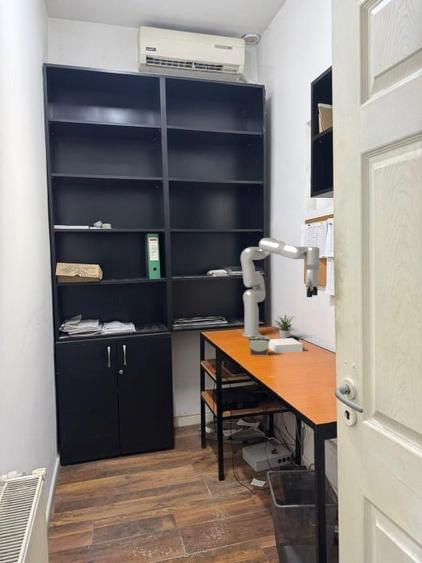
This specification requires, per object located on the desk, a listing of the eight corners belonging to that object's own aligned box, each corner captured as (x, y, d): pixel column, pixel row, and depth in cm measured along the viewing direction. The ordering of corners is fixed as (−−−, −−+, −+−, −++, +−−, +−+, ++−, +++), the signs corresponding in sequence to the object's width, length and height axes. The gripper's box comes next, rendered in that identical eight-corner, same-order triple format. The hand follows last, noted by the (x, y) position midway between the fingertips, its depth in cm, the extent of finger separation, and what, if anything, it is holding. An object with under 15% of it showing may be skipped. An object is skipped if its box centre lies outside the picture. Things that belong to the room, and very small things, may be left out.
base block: (267, 347, 230) (267, 339, 229) (292, 346, 233) (292, 338, 232) (276, 354, 216) (276, 345, 215) (302, 352, 219) (302, 343, 219)
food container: (269, 352, 217) (269, 335, 216) (270, 355, 211) (270, 337, 210) (247, 352, 218) (247, 335, 218) (247, 355, 212) (247, 337, 212)
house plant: (290, 335, 259) (290, 311, 257) (301, 340, 246) (301, 315, 244) (271, 337, 254) (271, 313, 253) (281, 342, 241) (281, 316, 240)
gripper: (311, 266, 236) (310, 294, 238) (301, 268, 222) (301, 297, 223) (323, 267, 232) (322, 295, 234) (314, 268, 218) (313, 298, 219)
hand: (312, 296), depth 228 cm, fingers open, 9 cm apart
